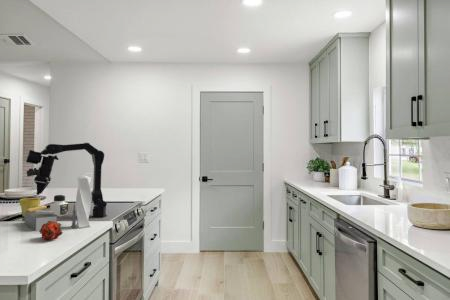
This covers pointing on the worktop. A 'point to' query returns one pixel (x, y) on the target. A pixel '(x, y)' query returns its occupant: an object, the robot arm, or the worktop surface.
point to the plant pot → (28, 204)
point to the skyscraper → (82, 203)
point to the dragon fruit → (51, 230)
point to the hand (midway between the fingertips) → (38, 194)
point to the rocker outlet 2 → (44, 212)
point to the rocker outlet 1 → (37, 208)
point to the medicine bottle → (59, 205)
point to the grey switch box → (38, 219)
